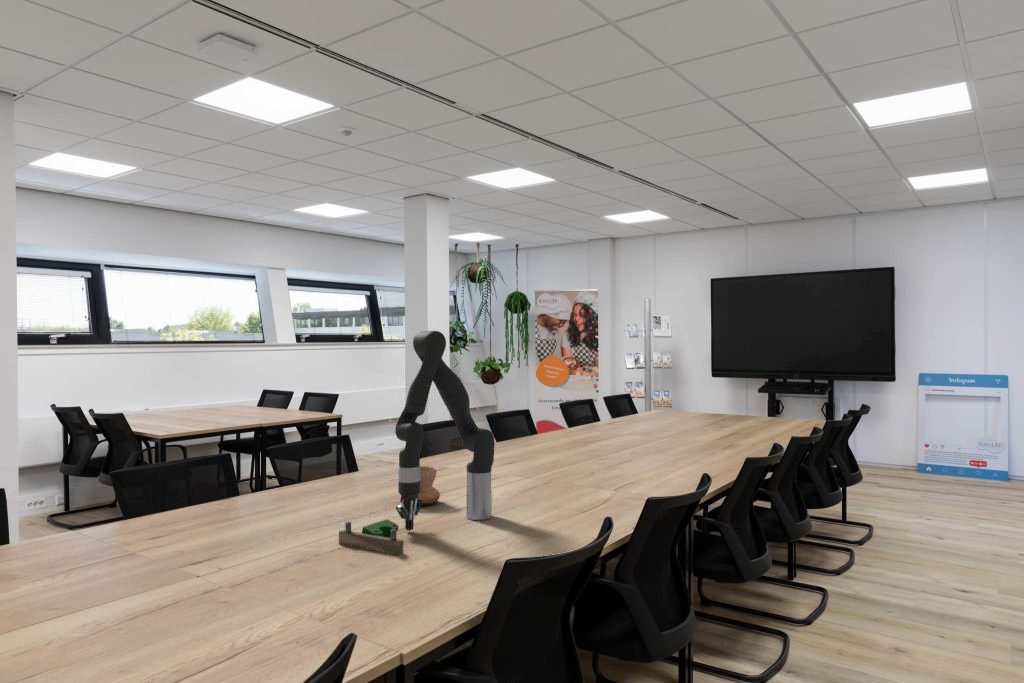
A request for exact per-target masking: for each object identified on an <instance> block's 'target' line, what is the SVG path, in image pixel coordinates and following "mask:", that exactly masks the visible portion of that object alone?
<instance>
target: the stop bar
mask: <svg viewBox="0 0 1024 683" xmlns="http://www.w3.org/2000/svg"><path fill="white" fill-rule="evenodd" d="M344 528H345V529H341V530H339V531H338V544H339V543H340V544H339V545H343V544H345V545H344V546H348V545H352V546H351V547H353V546H356V547H355V548H359V547H362V548H361V549H364V548H368V549H367V550H369V549H373V550H372V551H375V550H379V551H378V552H380V551H384V552H383V553H385V552H388V553H387V554H391V553H393V554H392V555H396V554H398V556H400V555H403V554H404V540H403V539H397V531H396V529H392V530H390V538H387V537H382V536H376V535H370V534H364V533H362V532H357V531H353V530H352V522H351V521H346V522H345V527H344ZM402 553H403V554H402Z"/></svg>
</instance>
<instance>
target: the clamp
mask: <svg viewBox="0 0 1024 683" xmlns="http://www.w3.org/2000/svg"><path fill="white" fill-rule="evenodd" d="M392 529H396V532H398V530H399V524H397V523H395V522H393V521H391V520H390V519H385V520H381V521H378V522H375V523H371V524H368V525H364V526H362V531H361V533H364V534H370V535H376V536H382V537H387V538H390V530H392Z"/></svg>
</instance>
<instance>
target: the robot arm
mask: <svg viewBox="0 0 1024 683" xmlns="http://www.w3.org/2000/svg"><path fill="white" fill-rule="evenodd" d="M412 345H413V350H414V352H415V354H416V356H418V358H419V359H420V361H421V362H422V363H421V366H420V368H419V370H418V371H417V374H416V376H415V378H414V379H413V380H412V383H411V385H410V387H409V389H408V393H407V396H406V401H405V405H404V408H403V410H402V412H401V414H400V415H399V417H398V420H397V422H396V425H395V431H394V432H395V436H396V438H397V439H398V440H399V441H402V442H405V447H404V448H403V449H401V450H399V454H398V466H399V467H398V472H397V473H398V475H397V476H398V477H397V478H398V480H397V481H398V483H397V485H398V486H397V487H398V488H397V489H398V491H397V492H398V494H399V495H400V500H399V505H396V506H395V510H396V511H397V514H398V515H399V517H400V518H401V519H404V521H405V522H404V523H405V526H404V527H405V531H409V532H410V531H412V530H414V525H415V524H414V519H415V518H416V517H417V516H418V514H419V511H420V510H421V507H422V506H421V504H422V499H419V498H418V494H419V493H420V466H421V465H420V463H421V462H420V460H421V458H420V454H421V451H422V446H423V442H424V438H425V431H424V428H423V426H422V425H421V423H419V422H417V420H418V417H420V416H422V415H424V413H425V411H426V407H427V403H428V399H429V394H430V390H431V386H432V383H433V384H434V386H435V387H436V389H437V391H438V393H439V396H440V398H441V400H442V401H443V404H444V405H445V406H446V407H445V408H446V409H447V411H448V412H449V414H450V416H451V418H452V420H453V422H454V423H455V426H456V429H457V432H458V434H459V437H460V439H461V442H462V444H463V446H464V447H465V449H466V450H467V451H469V452H471V453H472V454H473V457H472V460H471V461H469V462H468V463H467V464H466V518H467V519H468V520H472V521H484V520H489V519H491V518H492V512H493V510H492V509H493V508H492V507H493V505H492V504H493V499H492V498H493V492H492V469H493V467H492V466H493V464H494V461H495V437H494V434H493V432H492V431H491V430H490V429H487V428H481V427H478V426H477V423H476V422H475V420H474V419H473V416H472V414H471V408H470V396H469V393H468V392H467V388H466V387H465V385H464V383H463V381H462V380H461V378H460V377H459V376H458V375H457V374H456V373H455V372H454V371H453V370H452V369H451V368H450V367H449V366H448V365H447V364H446V363H445V361H444V360H443V356H444V353H445V350H446V347H447V339H446V337H445V335H444V333H442V332H441V331H439V330H425V331H424V330H423V331H419V332H417V333H416V334H415V335H414V336H413V340H412ZM415 516H416V517H415Z"/></svg>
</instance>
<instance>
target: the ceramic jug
mask: <svg viewBox="0 0 1024 683" xmlns="http://www.w3.org/2000/svg"><path fill="white" fill-rule="evenodd" d="M437 471H438V468H437V467H435V466H429V465H420V493H419V494H418V498H419V499H422V504H421V505H422V506H430V505H433V504H435V503H436V502H438V500H440V497H441V494H440V491H439V490H438V489H437V488H435V487H433V485H434V481H435V480H436V476H437Z"/></svg>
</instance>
